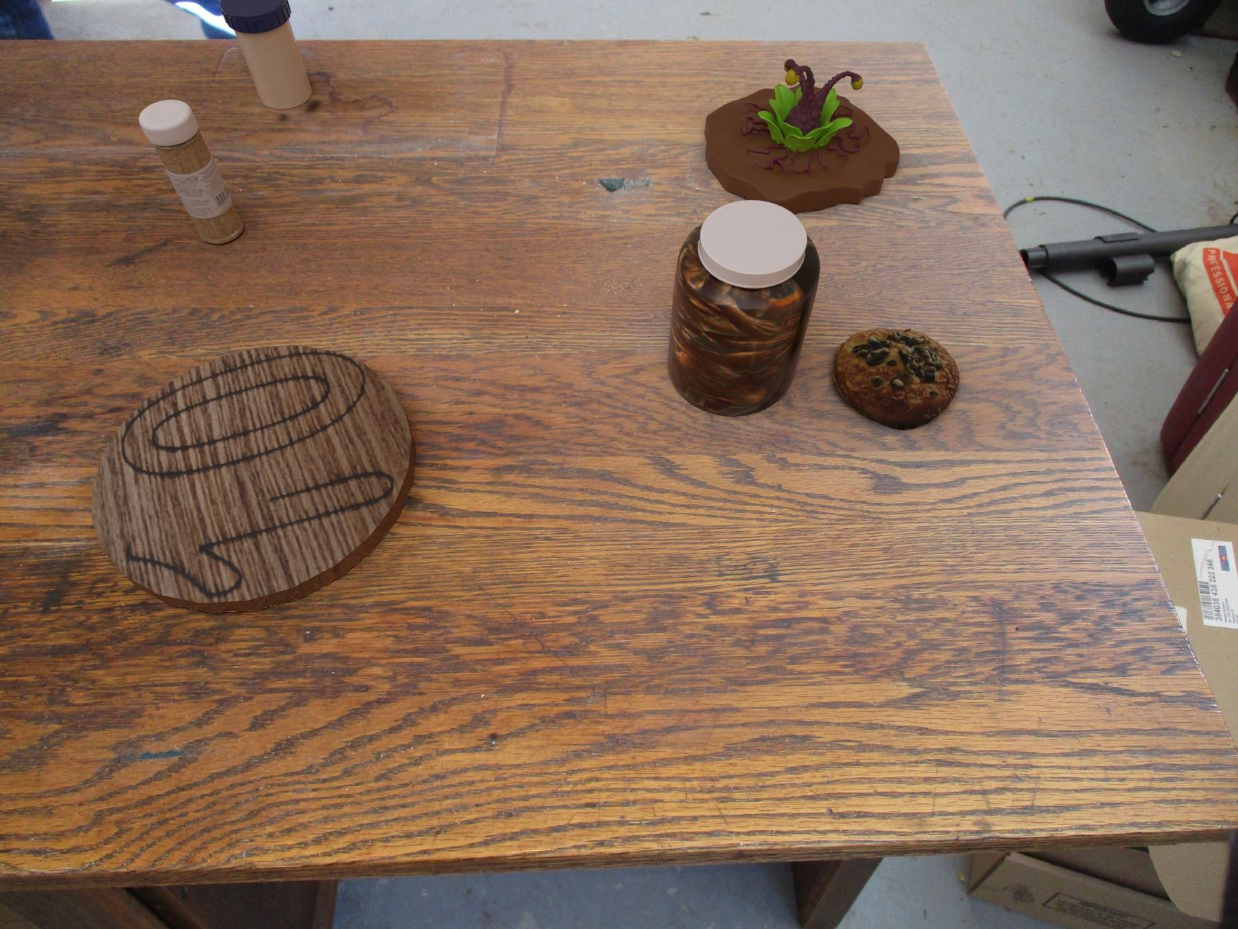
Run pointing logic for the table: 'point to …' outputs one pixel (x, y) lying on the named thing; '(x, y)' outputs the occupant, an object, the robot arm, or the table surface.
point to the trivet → (254, 478)
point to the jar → (741, 307)
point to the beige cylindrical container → (276, 67)
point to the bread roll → (895, 376)
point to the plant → (799, 145)
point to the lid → (255, 14)
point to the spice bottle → (192, 169)
